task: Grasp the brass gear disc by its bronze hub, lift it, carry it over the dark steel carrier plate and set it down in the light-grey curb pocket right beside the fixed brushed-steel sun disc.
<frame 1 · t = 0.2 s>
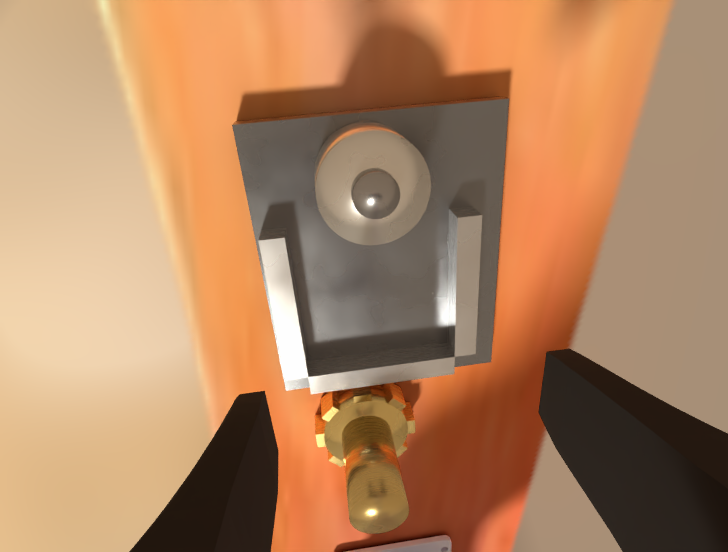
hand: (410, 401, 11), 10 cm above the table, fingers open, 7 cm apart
carrier: (379, 254, 20), on the table
planet gear: (363, 413, 24), on the table
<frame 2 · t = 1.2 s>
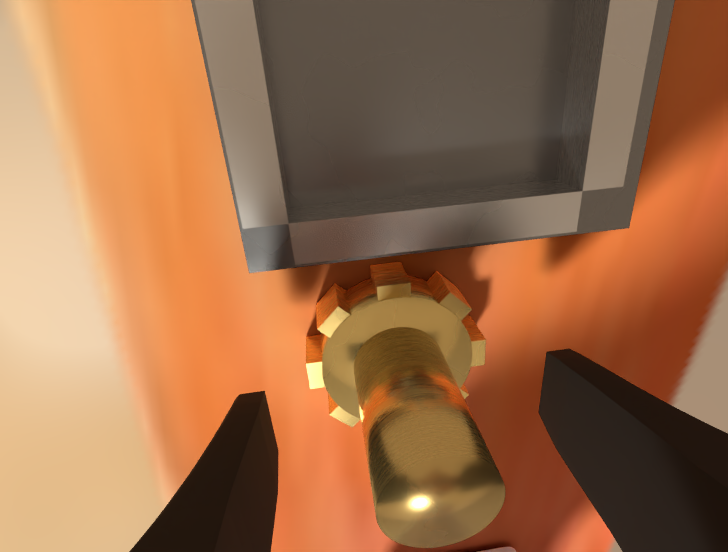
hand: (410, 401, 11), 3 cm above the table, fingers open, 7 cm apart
planet gear: (389, 336, 14), on the table
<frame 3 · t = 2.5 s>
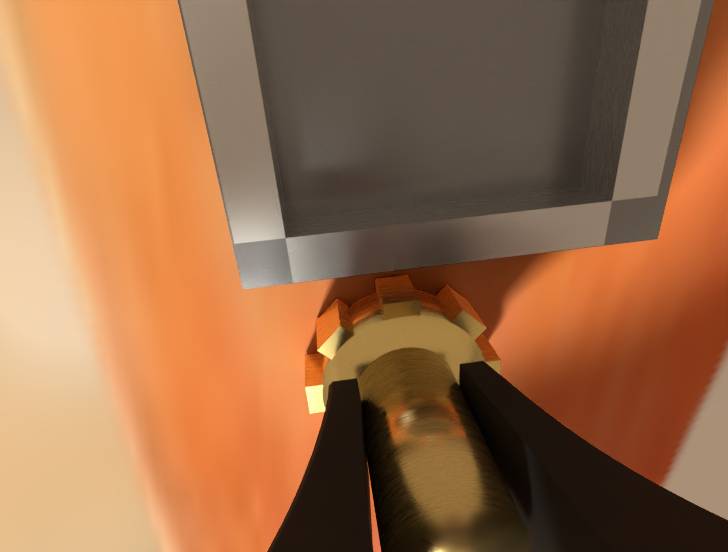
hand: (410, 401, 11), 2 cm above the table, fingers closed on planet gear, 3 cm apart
planet gear: (395, 354, 13), on the table, touching gripper
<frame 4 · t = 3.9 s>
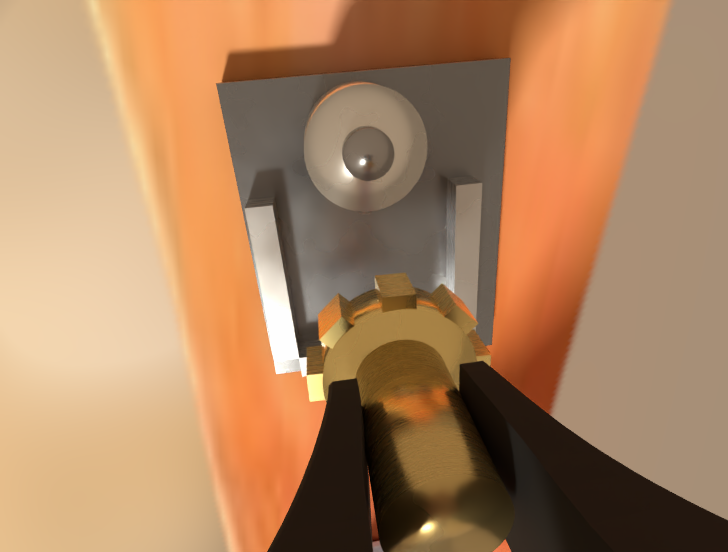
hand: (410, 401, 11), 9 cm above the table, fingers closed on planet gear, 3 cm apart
carrier: (374, 228, 19), on the table
planet gear: (391, 349, 14), point 7 cm above the table, touching gripper
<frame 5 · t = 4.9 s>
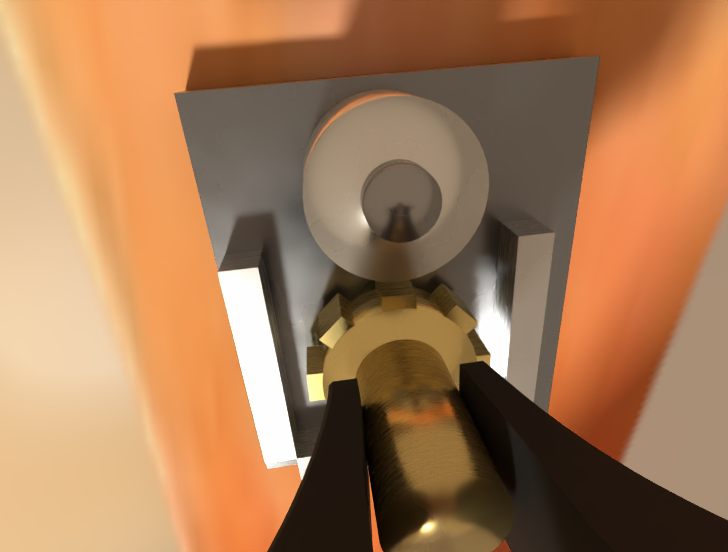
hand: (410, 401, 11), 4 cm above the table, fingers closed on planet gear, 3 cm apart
carrier: (397, 284, 14), on the table
planet gear: (391, 349, 14), point 1 cm above the table, touching gripper
when the fingers open (4 cm above the table, at t = 5.5 s): planet gear stays where it is, resting on carrier.
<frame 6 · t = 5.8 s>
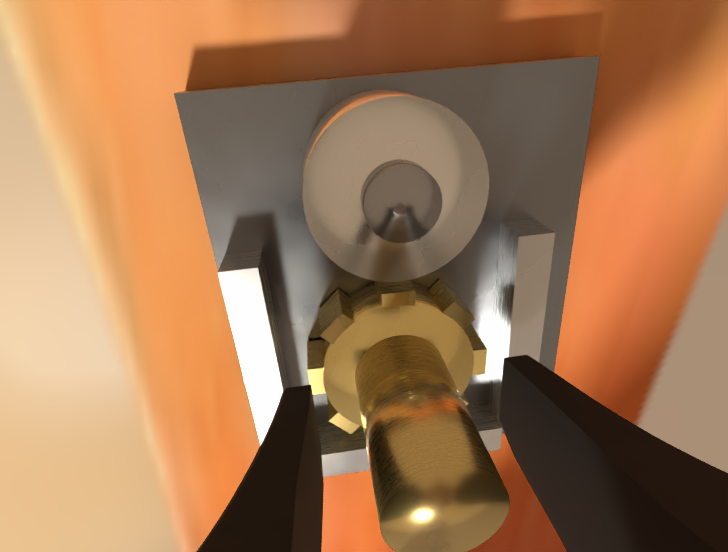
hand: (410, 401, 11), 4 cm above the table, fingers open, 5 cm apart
carrier: (397, 284, 14), on the table
planet gear: (390, 343, 14), point 1 cm above the table, touching carrier
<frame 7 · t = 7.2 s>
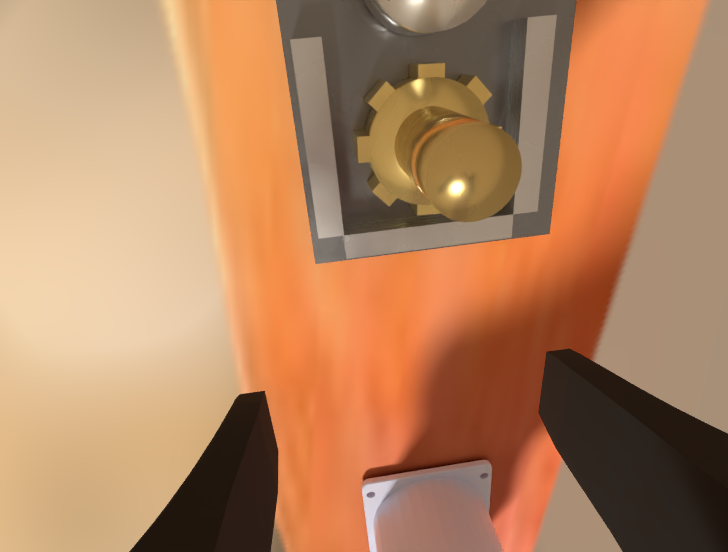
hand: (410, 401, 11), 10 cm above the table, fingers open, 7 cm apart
carrier: (426, 92, 17), on the table
planet gear: (420, 138, 17), point 1 cm above the table, touching carrier
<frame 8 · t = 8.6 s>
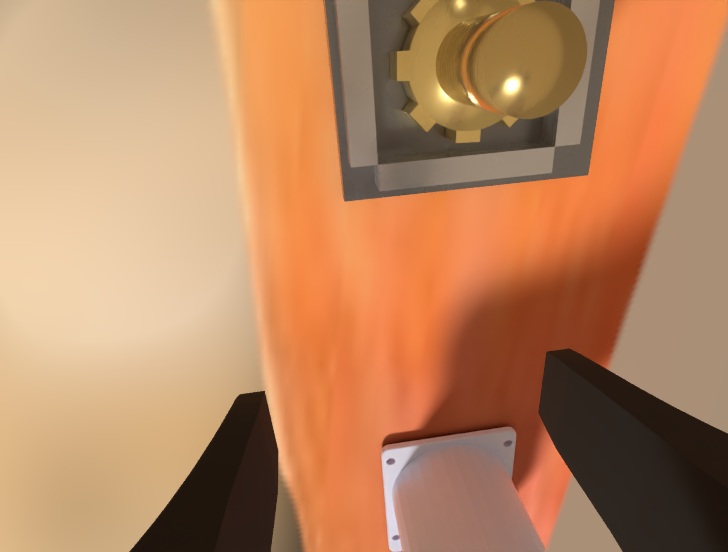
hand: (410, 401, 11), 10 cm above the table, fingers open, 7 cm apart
carrier: (465, 16, 16), on the table
planet gear: (459, 63, 16), point 1 cm above the table, touching carrier
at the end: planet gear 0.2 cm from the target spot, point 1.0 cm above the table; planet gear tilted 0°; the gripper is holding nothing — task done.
